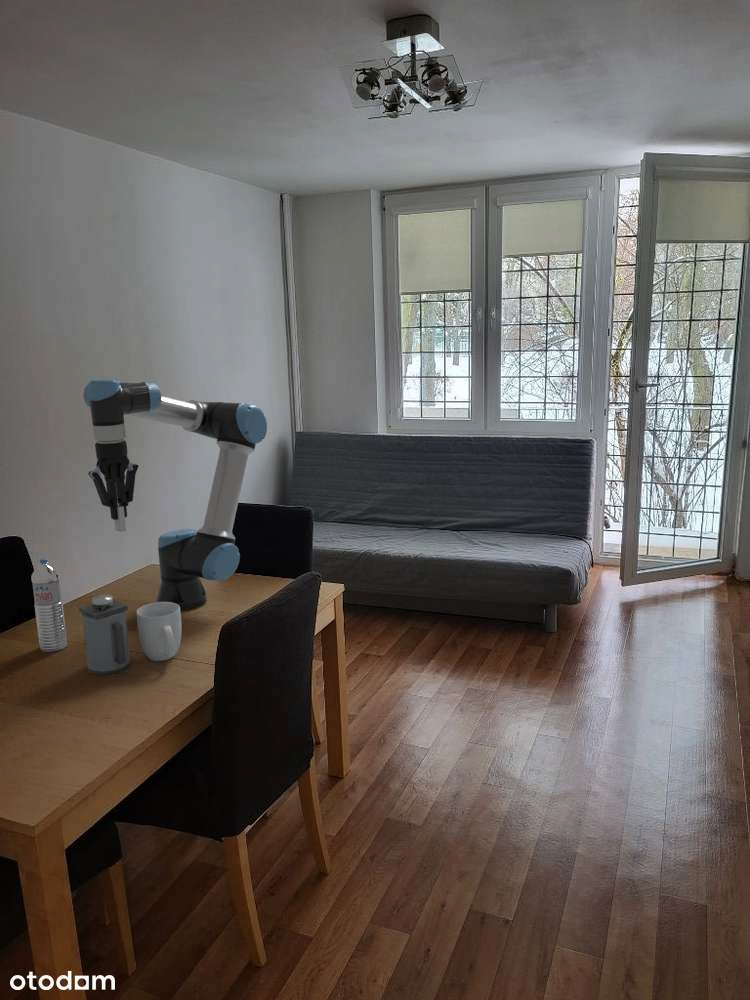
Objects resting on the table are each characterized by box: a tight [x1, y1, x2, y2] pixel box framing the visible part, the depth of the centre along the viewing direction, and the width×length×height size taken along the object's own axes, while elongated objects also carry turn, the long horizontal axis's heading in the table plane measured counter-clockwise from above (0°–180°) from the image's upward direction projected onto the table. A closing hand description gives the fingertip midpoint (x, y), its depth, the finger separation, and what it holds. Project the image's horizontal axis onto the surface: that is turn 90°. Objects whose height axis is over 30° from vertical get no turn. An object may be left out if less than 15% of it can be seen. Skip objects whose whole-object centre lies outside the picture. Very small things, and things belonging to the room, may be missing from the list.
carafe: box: [78, 598, 131, 676], centre depth 185 cm, size 10×12×16 cm
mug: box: [135, 601, 183, 662], centre depth 190 cm, size 15×11×13 cm
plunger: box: [91, 594, 114, 609], centre depth 185 cm, size 6×6×16 cm
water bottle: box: [31, 557, 68, 653], centre depth 196 cm, size 7×7×25 cm
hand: (120, 530), depth 191 cm, fingers closed
